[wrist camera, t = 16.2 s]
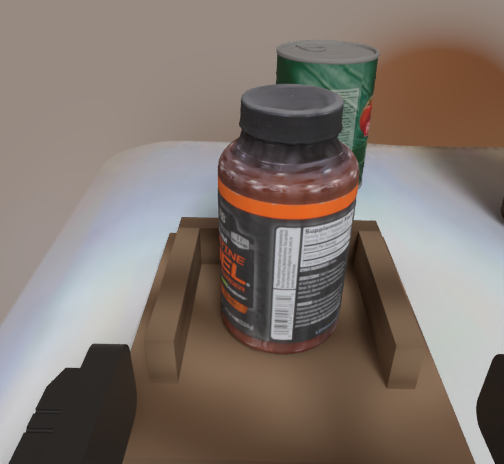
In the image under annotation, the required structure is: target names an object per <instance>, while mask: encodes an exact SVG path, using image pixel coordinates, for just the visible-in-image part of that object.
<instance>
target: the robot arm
mask: <svg viewBox="0 0 504 464" xmlns="http://www.w3.org/2000/svg"><path fill="white" fill-rule="evenodd" d="M136 408H137V389H136V383H135V378H134V372H133V366H132V360H131V354H130V349H129V346H128V345H127V344H92V345H91V346H90V348H89V350H88V352H87V354H86V356H85V359H84V361H83V363H82V366H81V368H65V369H64V370H63V371H62V372H61V373H60V374H59V375H58V376H57V377H56V378H55V379H54V380H53V381H52V382H51V383H50V384H49V385H48V386H47V387H46V389H45V391H44V393H43V395H42V397H41V399H40V401H39V403H38V405H37V407H36V412H35V414H33V415H32V417H31V419H30V421H29V423H28V425H27V427H26V428H27V429H26V433H24V434H23V436H22V438H21V440H20V442H19V444H18V446H17V448H16V450H15V452H14V454H13V456H12V458H11V460H10V462H9V464H122V463H123V460H124V456H125V452H126V449H127V445H128V441H129V438H130V434H131V430H132V427H133V423H134V419H135V415H136ZM476 413H477V421H478V425H479V428H480V431H481V433H482V435H483V438H484V440H485V442H486V444H487V447H488V449H489V451H490V453H491V456H492V458H493V460H494V462H495V464H504V354H498V355H496V356H495V357H494V358H493V360H492V363H491V365H490V368H489V371H488V373H487V376H486V379H485V381H484V384H483V387H482V389H481V392H480V395H479V397H478V400H477V406H476Z"/></svg>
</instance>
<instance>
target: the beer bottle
mask: <svg viewBox="0 0 504 464" xmlns="http://www.w3.org/2000/svg"><path fill="white" fill-rule="evenodd" d="M501 212H502V215H503V217H504V199H503V203H502V207H501Z"/></svg>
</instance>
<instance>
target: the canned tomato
mask: <svg viewBox="0 0 504 464" xmlns="http://www.w3.org/2000/svg"><path fill="white" fill-rule="evenodd" d="M277 54H278V55H277V72H276V75H277V80H276V84H301V85H310V86H316V87H321V88H324V89H328V90H330V91H333V92H336V93H337V94H339V95H340V96H341V97H342V98H343V101H344V108H343V115H342V126H343V129H342V131H341V133H340V134H339V135H338V140H339V141H340V142H342V143H343V144H345V145H346V146H347V147H348V148H349V149H350V150H351V151H352V152H353V153H354V155H355V157H356V159H357V161H358V165H359V183H358V189H359V188H360V187H361V185H362V173H363V167H364V159H365V153H366V146H367V138H368V130H369V121H370V114H371V109H372V100H373V92H374V84H375V79H376V69H377V61H378V57H379V50H378V49H376V48H374V47H371V46H368V45H364V44H359V43H353V42H345V41H331V40H306V41H294V42H288V43H284V44H282V45H279V47H277Z"/></svg>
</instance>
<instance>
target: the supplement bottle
mask: <svg viewBox="0 0 504 464" xmlns="http://www.w3.org/2000/svg"><path fill="white" fill-rule="evenodd" d="M343 108H344V101H343V98H342V97H341V96H340V95H339V94H337V93H336V92H333V91H330V90H328V89H324V88H321V87H316V86H310V85H301V84H276V85H267V86H261V87H256V88H253V89H250V90H248V91H246V92H245V93H244V94H243V95H242V98H241V118H240V122H239V125H240V127H241V129H242V131H241V134H240V137H239V138H237V139H236V140H234V141H233V142H232V143H231V144H229V145H228V146H227V148H225V150H224V151H223V152H222V154H221V156H220V159H219V165H218V212H219V245H220V290H221V307H222V315H223V319H224V322H225V325H226V327H227V328H228V329H229V331H230V332H231V334H233V335H234V336H235V337H236V338H237V339H238V340H239V341H241V342H242V343H244V344H245V345H247V346H249V347H252V348H253V349H255V350H258V351H263V352H267V353H274V354H295V353H303V352H305V351H308V350H309V349H313V348H315V347H317V346H319V345H320V344H321V343H323V342H324V341H326V340H327V339H328V338H329V337H330V336H331V335H332V333H333V332H334V330H335V328H336V325H337V322H338V317H339V313H340V308H341V301H342V293H343V288H344V281H345V274H346V267H347V260H348V253H349V247H350V239H351V233H352V226H353V219H354V214H355V205H356V195H357V190H358V183H359V165H358V161H357V159H356V157H355V155H354V153H353V152H352V151H351V150H350V149H349V148H348V147H347V146H346V145H345V144H343V143H342V142H340V141H339V140H338V135H339V134H340V133H341V131H342V129H343V126H342V115H343Z"/></svg>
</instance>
